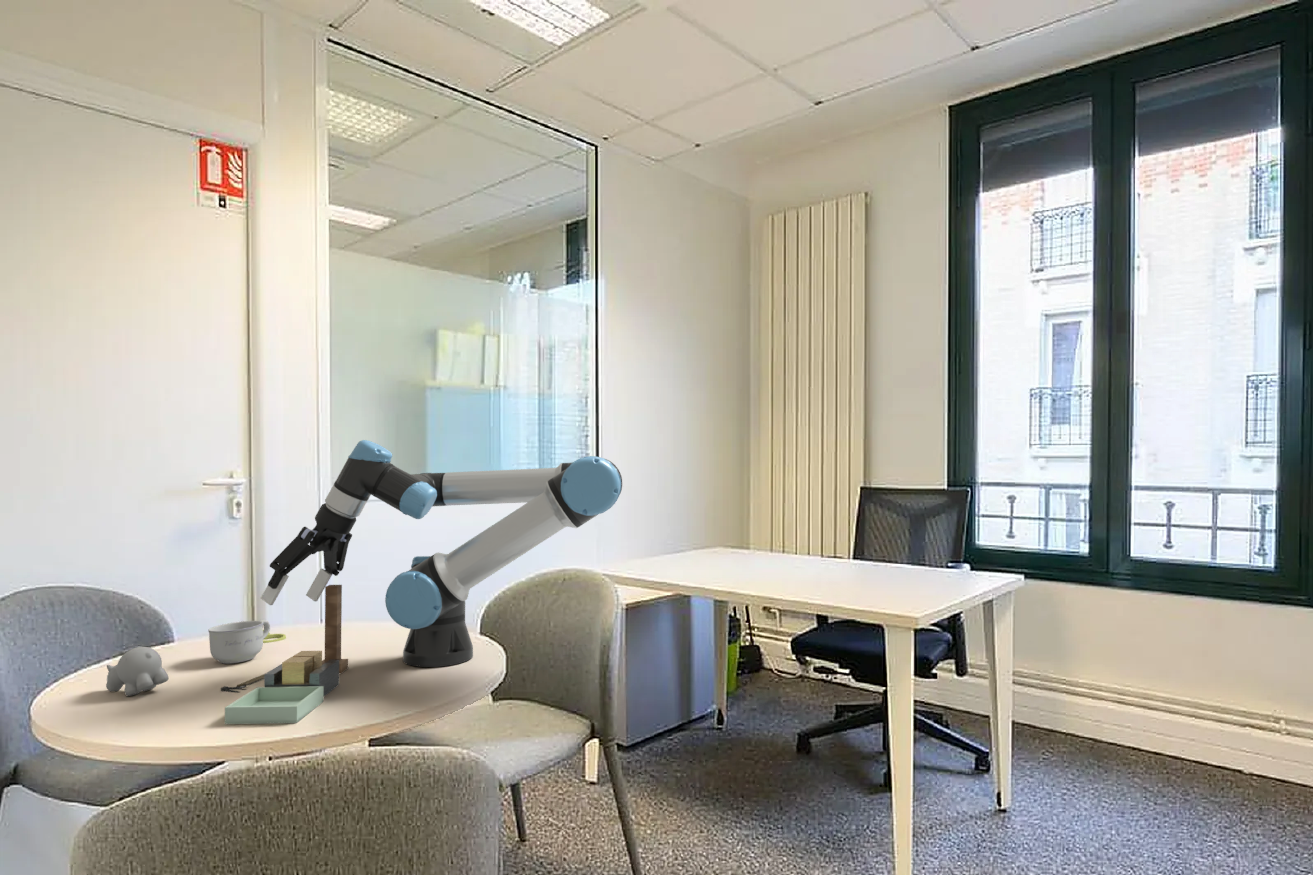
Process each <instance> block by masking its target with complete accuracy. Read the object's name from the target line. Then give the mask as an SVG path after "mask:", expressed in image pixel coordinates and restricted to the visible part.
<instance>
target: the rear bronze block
mask: <svg viewBox="0 0 1313 875" xmlns="http://www.w3.org/2000/svg"><path fill="white" fill-rule="evenodd" d="M292 657H313V671H314V670H316V669H317V668H319V667H320V666H322V661H323V650H300V651H299V652H298V653H296V654H294V655H293V656H292Z"/></svg>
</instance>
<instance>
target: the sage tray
mask: <svg viewBox="0 0 1313 875" xmlns="http://www.w3.org/2000/svg"><path fill="white" fill-rule="evenodd" d="M323 693H324V686H301V687H264V686H257V687H256V688H254V689H252V690H251V691H249V692H248V693H246V694H244V695H243V696H241V697H239V698H238V699H236V700H234V701H233V702H231V703H230V704H228V705H227V706H225V707H224V725H246V724H247V725H249V724H250V725H251V724H252V725H253V724H254V725H257V724H297V723H299V722H300V721H301V720H303V719H304V718H305V717H306V716H307V715H308V714H310V713H311V712H312V711H314V710H315V709H316V708H317V707H319V706H320V705H321V704H322V703H323V702H324V697H323Z"/></svg>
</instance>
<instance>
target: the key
mask: <svg viewBox="0 0 1313 875" xmlns="http://www.w3.org/2000/svg"><path fill="white" fill-rule="evenodd" d="M263 631H264V629H263ZM286 639H287V635H286V634H284V633H270V632H269V633H268V635H267V636H266V637H265V638H264V639H263V644H266V643H267V644H268V643H269V644H270V643H275V642H280V641H285V640H286Z"/></svg>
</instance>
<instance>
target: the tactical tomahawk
mask: <svg viewBox="0 0 1313 875" xmlns="http://www.w3.org/2000/svg"><path fill="white" fill-rule="evenodd" d="M266 673H267V672H265V673H264V674H266ZM264 674H261V675H258V676H255V677H253V678H250V679H248V680H246V681H244V682H240V683H239V684H237V685H236V686H231V687H230V686H227V685H226V686H225V685H224V686H221V687H220V692H228V693H235V694H236V693H237V694H238V693H240V691H239V690H241V691H246V690H248V689H247V688H248V686H250V685H253V684H255V683H257V682H259V681H262V680H263V681H264Z"/></svg>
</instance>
